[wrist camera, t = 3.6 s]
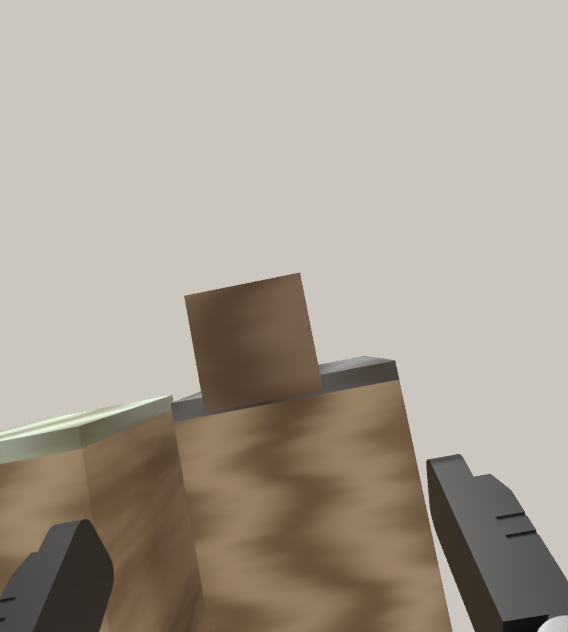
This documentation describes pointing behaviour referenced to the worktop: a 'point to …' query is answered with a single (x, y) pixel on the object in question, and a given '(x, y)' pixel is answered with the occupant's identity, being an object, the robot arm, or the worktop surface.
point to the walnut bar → (253, 343)
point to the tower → (108, 507)
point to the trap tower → (312, 509)
